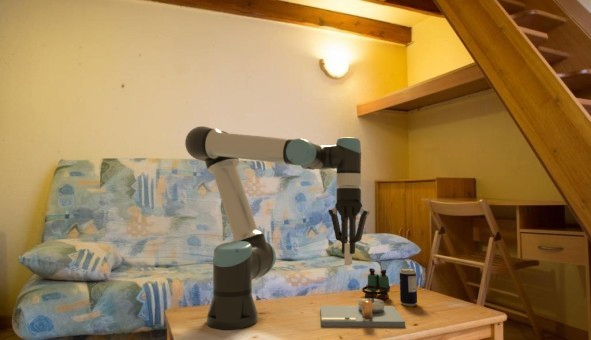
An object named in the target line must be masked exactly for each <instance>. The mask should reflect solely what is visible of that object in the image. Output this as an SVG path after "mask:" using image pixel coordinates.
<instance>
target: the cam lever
mask: <svg viewBox="0 0 591 340" xmlns="http://www.w3.org/2000/svg"><path fill="white" fill-rule="evenodd" d="M357 303H358V305H357V306H358V309H359V310H360V311H362V318H364V319H372V318H373V313H380V312H383V311H384V306H385V302H384V301H382V300H379V299H377V298H374V299H372V298H367V299H365V298H361V299H359V300H358V301H357Z"/></svg>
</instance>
